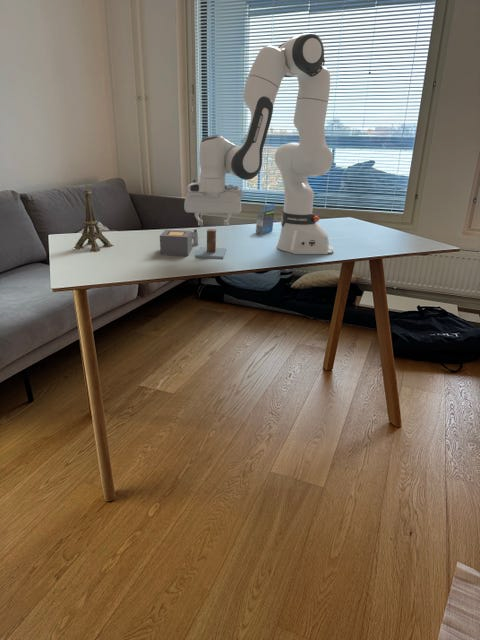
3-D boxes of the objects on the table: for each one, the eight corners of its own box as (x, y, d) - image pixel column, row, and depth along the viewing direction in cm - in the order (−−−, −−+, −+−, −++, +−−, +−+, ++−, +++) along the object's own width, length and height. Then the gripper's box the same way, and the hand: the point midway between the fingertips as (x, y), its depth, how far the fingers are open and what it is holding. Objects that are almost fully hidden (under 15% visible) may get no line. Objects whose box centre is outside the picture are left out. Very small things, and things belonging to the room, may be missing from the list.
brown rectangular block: (215, 250, 160) (216, 229, 156) (214, 252, 157) (215, 231, 154) (207, 250, 160) (207, 229, 156) (206, 252, 157) (206, 230, 154)
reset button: (184, 240, 160) (184, 232, 158) (182, 243, 155) (182, 235, 154) (170, 239, 160) (170, 231, 159) (168, 242, 155) (167, 234, 154)
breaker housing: (192, 249, 163) (191, 231, 161) (187, 256, 154) (187, 237, 151) (166, 247, 164) (165, 229, 161) (160, 254, 155) (159, 235, 152)
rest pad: (225, 250, 164) (225, 248, 164) (223, 258, 153) (223, 256, 153) (200, 248, 164) (200, 246, 164) (195, 257, 153) (195, 255, 153)
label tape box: (265, 229, 201) (267, 203, 196) (273, 230, 199) (275, 204, 193) (255, 232, 194) (256, 205, 189) (262, 234, 192) (264, 206, 187)
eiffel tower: (72, 248, 158) (63, 178, 148) (90, 242, 167) (83, 176, 157) (96, 252, 155) (88, 180, 145) (113, 245, 164) (107, 178, 154)
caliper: (197, 245, 169) (197, 230, 167) (195, 246, 169) (195, 230, 167) (184, 234, 187) (184, 220, 184) (181, 234, 186) (181, 220, 184)
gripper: (242, 185, 151) (242, 224, 157) (185, 184, 152) (187, 222, 158) (241, 187, 145) (241, 227, 151) (182, 186, 146) (184, 226, 152)
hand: (213, 225), depth 154 cm, fingers open, 8 cm apart
